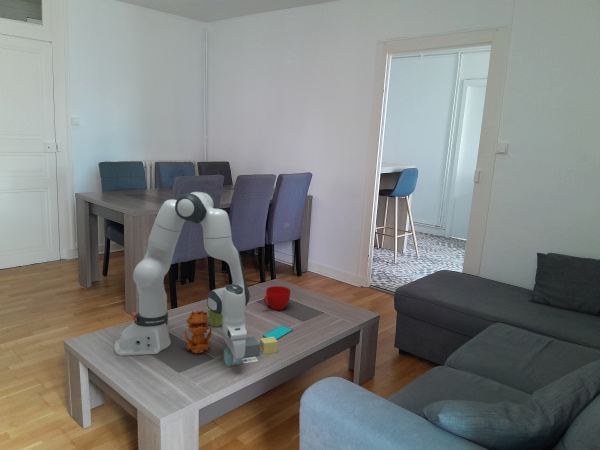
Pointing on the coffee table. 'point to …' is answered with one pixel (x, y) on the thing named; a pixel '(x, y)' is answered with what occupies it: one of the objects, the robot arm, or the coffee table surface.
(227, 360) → the brick teal
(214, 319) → the plant pot
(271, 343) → the brick mustard
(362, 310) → the coffee table surface
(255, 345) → the tower base
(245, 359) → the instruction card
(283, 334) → the smartphone
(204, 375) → the coffee table surface
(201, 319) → the orange figurine
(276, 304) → the ceramic cup
